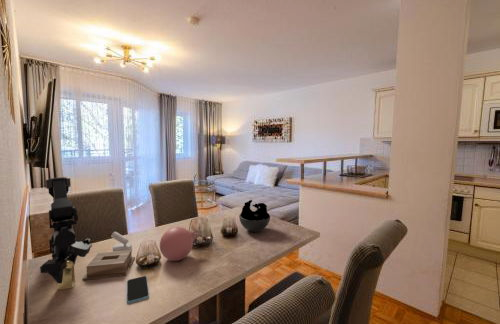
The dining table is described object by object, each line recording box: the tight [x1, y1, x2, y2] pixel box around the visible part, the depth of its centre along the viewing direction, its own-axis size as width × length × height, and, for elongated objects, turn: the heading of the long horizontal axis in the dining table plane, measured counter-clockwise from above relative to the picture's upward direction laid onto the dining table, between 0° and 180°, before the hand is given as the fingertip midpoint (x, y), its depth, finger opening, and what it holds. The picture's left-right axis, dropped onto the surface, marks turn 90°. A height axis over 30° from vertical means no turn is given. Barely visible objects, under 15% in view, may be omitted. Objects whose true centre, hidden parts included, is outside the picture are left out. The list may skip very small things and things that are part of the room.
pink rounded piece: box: [159, 226, 201, 262], centre depth 112 cm, size 15×20×15 cm
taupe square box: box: [82, 249, 136, 281], centre depth 102 cm, size 15×16×5 cm
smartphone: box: [126, 275, 150, 304], centre depth 88 cm, size 7×1×15 cm
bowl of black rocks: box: [238, 199, 271, 233], centre depth 147 cm, size 20×20×19 cm
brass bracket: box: [56, 260, 76, 290], centre depth 88 cm, size 2×5×10 cm, turn 103°
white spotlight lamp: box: [110, 231, 133, 252], centre depth 119 cm, size 9×10×10 cm
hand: (65, 277), depth 88 cm, fingers open, 7 cm apart
